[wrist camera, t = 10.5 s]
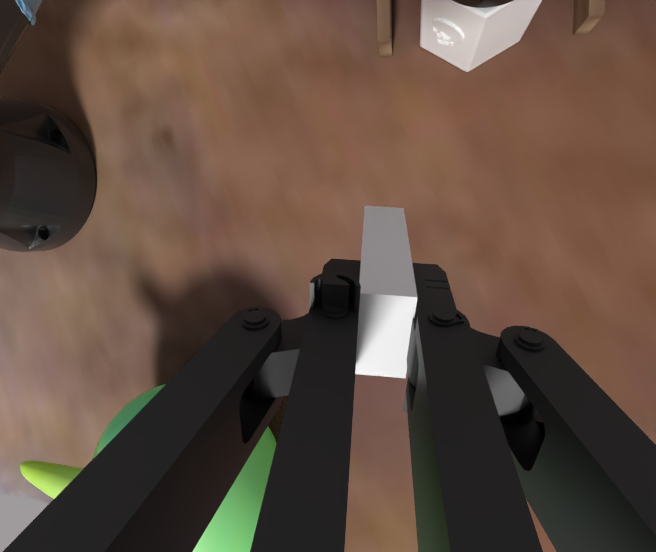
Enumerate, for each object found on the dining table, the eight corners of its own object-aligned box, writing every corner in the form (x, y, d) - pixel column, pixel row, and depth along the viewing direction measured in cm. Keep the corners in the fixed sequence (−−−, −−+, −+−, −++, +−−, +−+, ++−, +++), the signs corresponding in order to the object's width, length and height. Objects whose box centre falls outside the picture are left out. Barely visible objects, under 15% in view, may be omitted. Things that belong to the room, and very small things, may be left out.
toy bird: (325, 515, 42) (279, 666, 27) (179, 540, 45) (70, 684, 31) (269, 342, 41) (192, 403, 26) (125, 382, 44) (-12, 455, 30)
